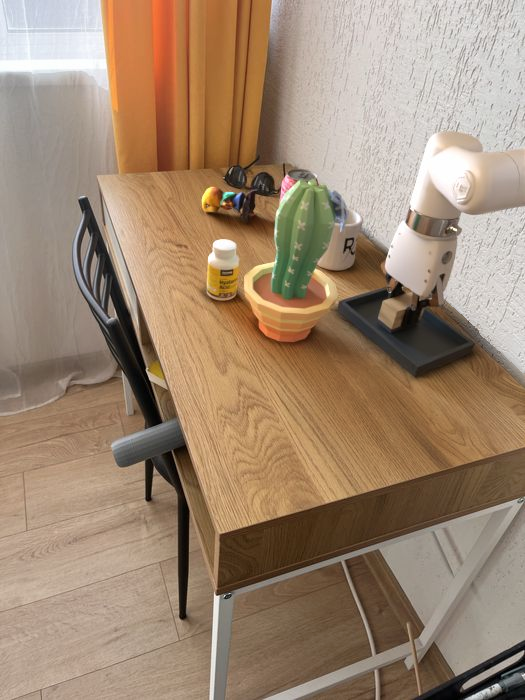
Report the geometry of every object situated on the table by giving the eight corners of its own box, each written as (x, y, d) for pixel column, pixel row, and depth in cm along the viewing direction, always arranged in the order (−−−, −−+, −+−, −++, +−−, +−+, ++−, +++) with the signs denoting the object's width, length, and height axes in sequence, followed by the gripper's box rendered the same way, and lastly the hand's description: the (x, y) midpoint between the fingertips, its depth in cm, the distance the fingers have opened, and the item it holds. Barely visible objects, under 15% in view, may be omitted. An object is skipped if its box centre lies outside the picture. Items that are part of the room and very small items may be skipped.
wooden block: (405, 312, 94) (412, 291, 91) (419, 323, 92) (427, 301, 89) (376, 322, 91) (382, 300, 88) (390, 333, 89) (397, 311, 86)
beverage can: (316, 224, 120) (325, 172, 113) (306, 238, 114) (315, 185, 107) (283, 215, 122) (289, 164, 115) (272, 229, 116) (278, 176, 109)
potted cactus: (322, 364, 82) (356, 215, 66) (228, 342, 84) (238, 192, 68) (335, 310, 94) (366, 173, 78) (251, 292, 96) (265, 155, 80)
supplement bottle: (218, 305, 92) (220, 255, 86) (200, 290, 95) (201, 241, 89) (242, 296, 95) (247, 247, 88) (224, 282, 98) (227, 234, 92)
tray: (471, 352, 88) (476, 343, 87) (414, 377, 82) (418, 367, 81) (391, 293, 100) (394, 284, 99) (336, 310, 94) (338, 300, 93)
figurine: (198, 213, 119) (199, 187, 115) (214, 202, 124) (216, 176, 120) (243, 227, 116) (246, 201, 112) (258, 215, 121) (260, 189, 117)
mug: (339, 277, 103) (349, 230, 97) (300, 260, 107) (308, 214, 101) (368, 255, 111) (380, 211, 105) (332, 240, 115) (341, 196, 109)
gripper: (491, 240, 76) (450, 339, 87) (410, 195, 86) (383, 289, 98) (456, 249, 72) (418, 352, 84) (376, 201, 83) (352, 298, 94)
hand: (399, 317), depth 91 cm, fingers closed on wooden block, 3 cm apart
